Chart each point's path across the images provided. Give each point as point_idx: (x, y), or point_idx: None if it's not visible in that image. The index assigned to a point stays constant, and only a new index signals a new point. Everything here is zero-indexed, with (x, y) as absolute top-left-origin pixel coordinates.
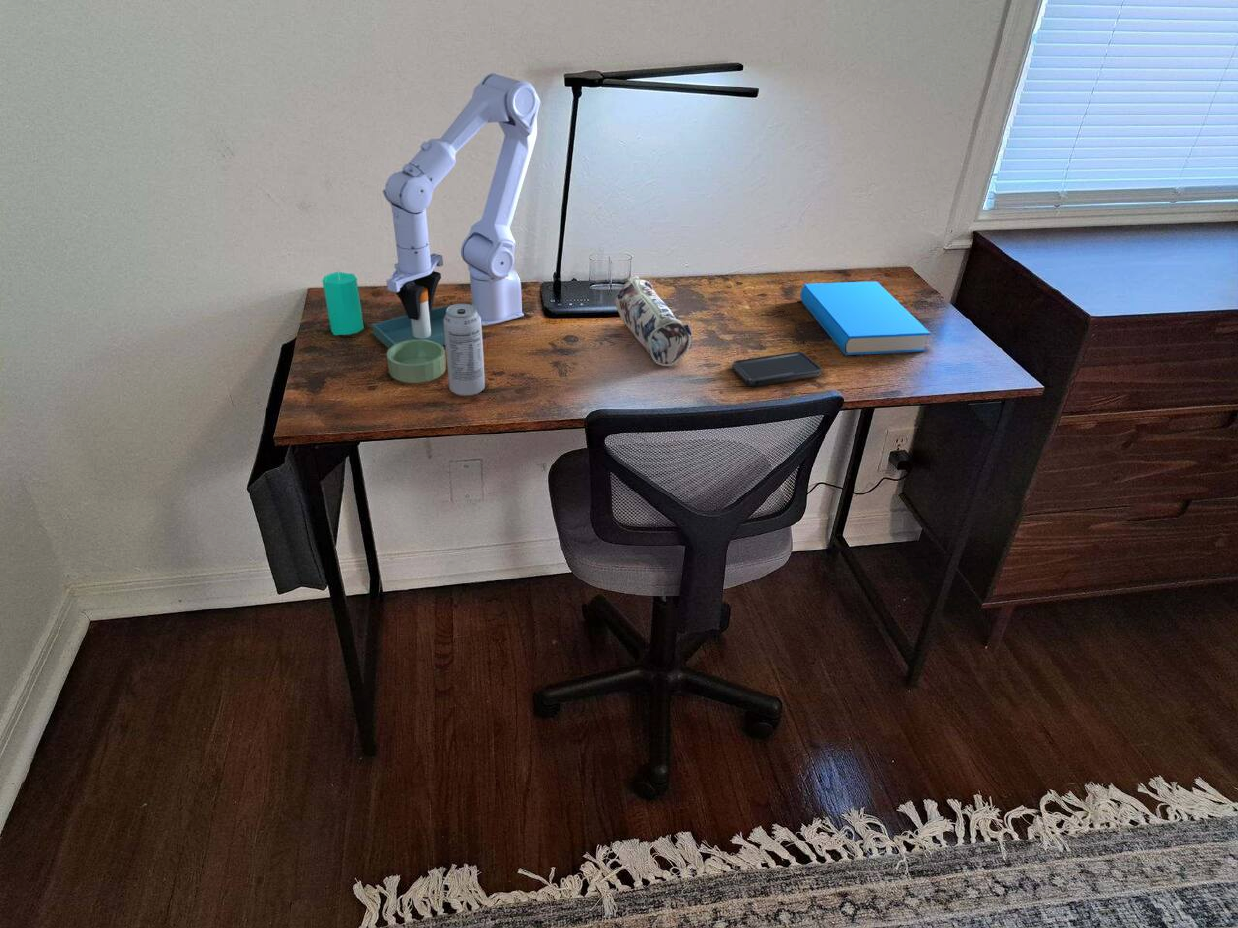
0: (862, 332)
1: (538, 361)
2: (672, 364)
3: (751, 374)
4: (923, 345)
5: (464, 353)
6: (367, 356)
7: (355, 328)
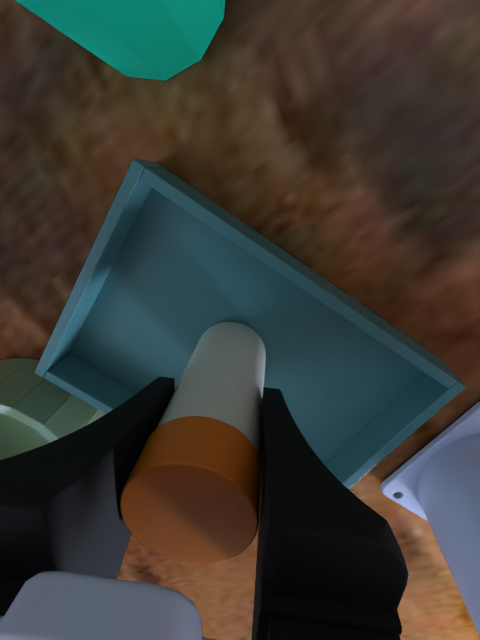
0: None
1: (241, 622)
2: None
3: None
4: None
5: None
6: (17, 243)
7: (109, 64)
